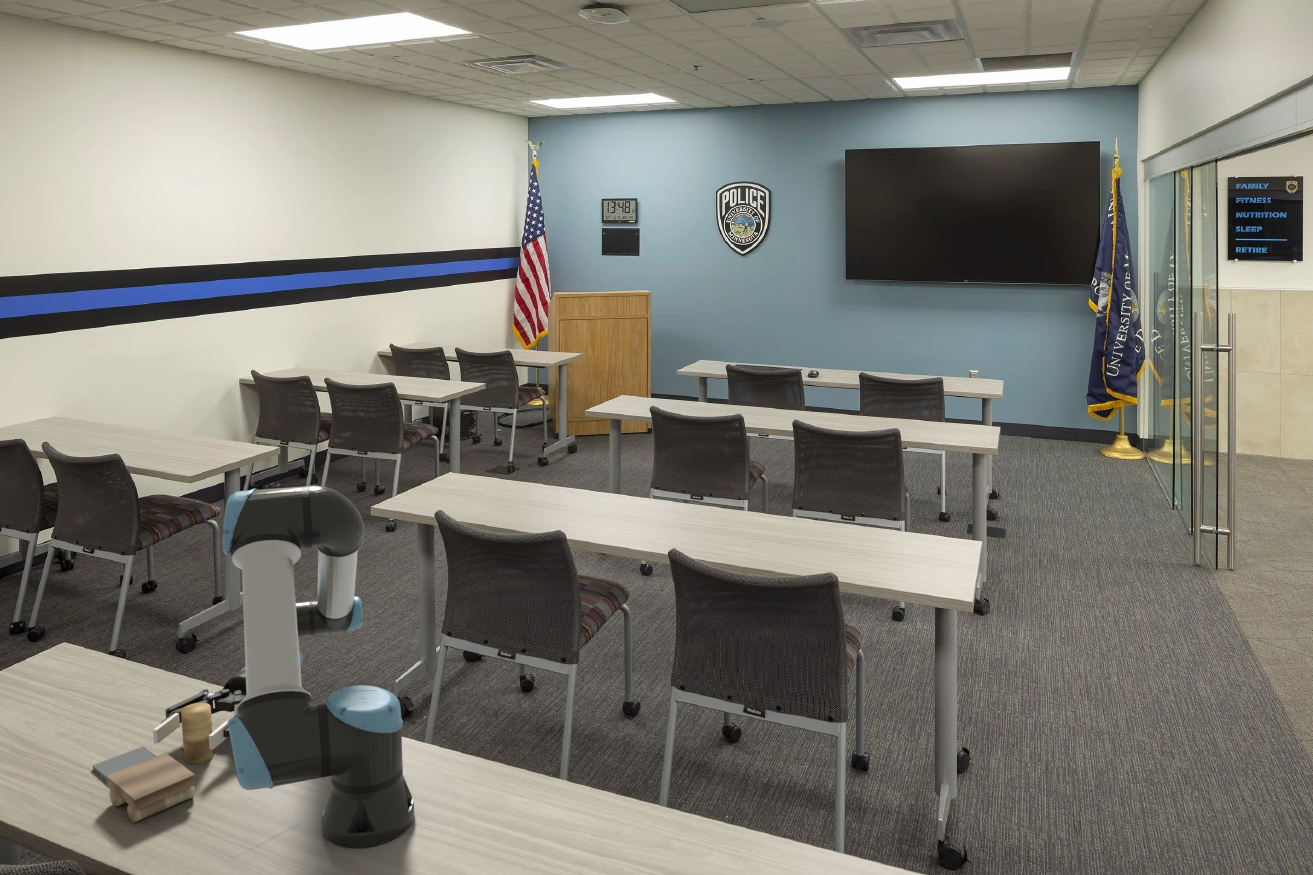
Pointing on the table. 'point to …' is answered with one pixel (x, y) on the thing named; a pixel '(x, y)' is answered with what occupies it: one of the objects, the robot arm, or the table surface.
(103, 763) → the pad
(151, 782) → the slab
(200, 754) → the roller
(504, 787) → the table surface
